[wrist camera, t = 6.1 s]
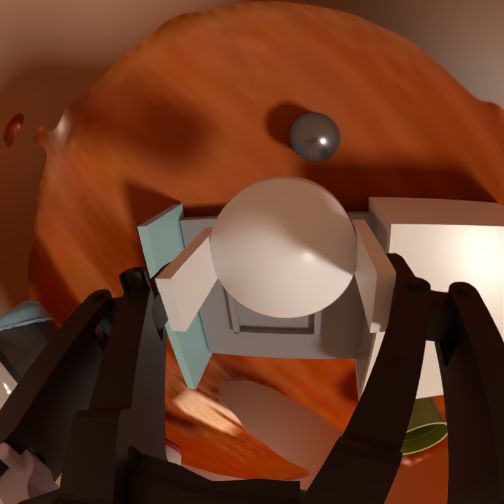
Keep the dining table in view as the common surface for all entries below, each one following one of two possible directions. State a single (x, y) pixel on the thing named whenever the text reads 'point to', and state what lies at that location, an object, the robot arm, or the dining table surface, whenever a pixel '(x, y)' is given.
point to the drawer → (244, 319)
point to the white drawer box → (439, 263)
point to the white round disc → (284, 247)
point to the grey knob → (314, 136)
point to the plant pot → (424, 426)
